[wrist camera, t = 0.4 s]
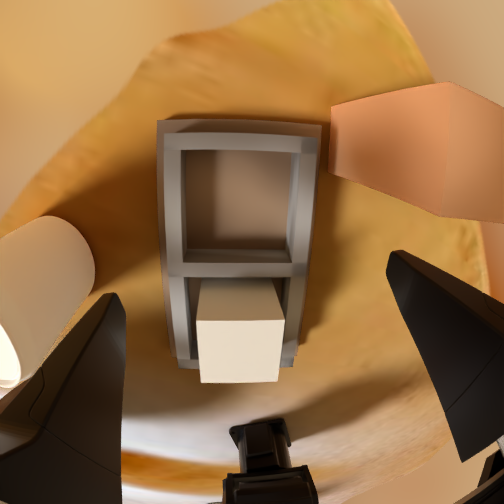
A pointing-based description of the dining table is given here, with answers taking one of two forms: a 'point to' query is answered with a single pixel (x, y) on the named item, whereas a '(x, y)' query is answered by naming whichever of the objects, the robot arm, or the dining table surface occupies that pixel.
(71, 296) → the beverage can
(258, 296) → the cream white block
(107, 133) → the dining table surface
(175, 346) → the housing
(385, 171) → the jaw tall
